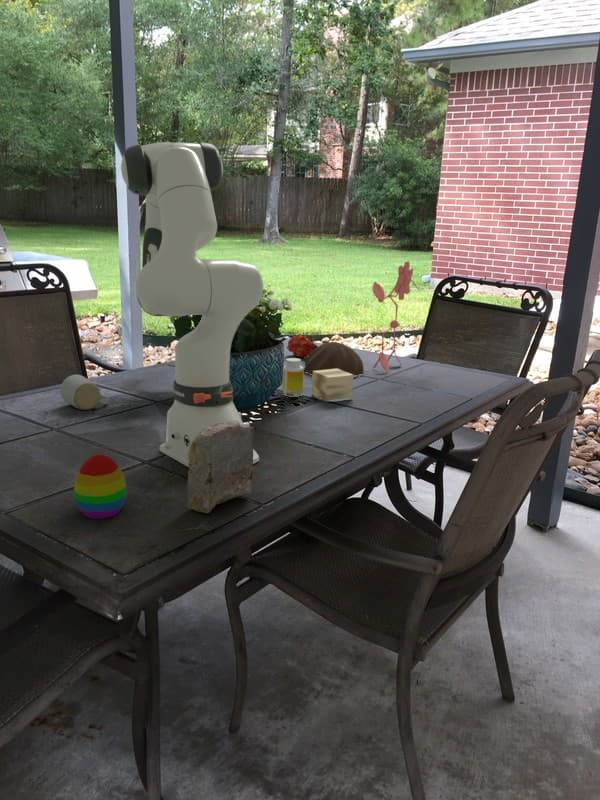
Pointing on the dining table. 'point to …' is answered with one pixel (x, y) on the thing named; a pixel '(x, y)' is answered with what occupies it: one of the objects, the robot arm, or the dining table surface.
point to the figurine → (402, 289)
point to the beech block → (332, 384)
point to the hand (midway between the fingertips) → (250, 314)
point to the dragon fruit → (301, 345)
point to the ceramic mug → (81, 393)
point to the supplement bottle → (293, 378)
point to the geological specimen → (220, 465)
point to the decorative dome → (334, 359)
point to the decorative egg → (100, 487)
